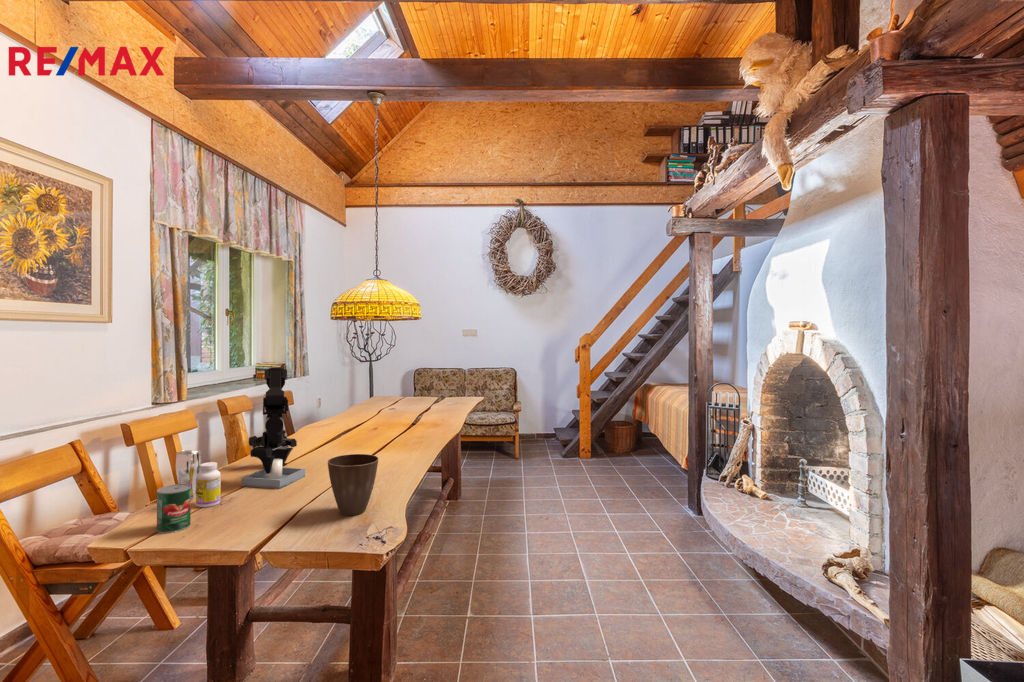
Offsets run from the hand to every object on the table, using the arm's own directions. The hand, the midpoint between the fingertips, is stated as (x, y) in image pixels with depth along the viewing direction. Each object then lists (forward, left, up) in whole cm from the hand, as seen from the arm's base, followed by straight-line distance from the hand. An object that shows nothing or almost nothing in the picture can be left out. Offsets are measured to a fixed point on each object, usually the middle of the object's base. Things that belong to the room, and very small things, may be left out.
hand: (274, 470), depth 181 cm
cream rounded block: (0, 0, -3) cm, 3 cm away
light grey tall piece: (+22, -15, -4) cm, 27 cm away
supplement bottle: (+26, -4, -4) cm, 27 cm away
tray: (0, 0, -4) cm, 4 cm away
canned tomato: (+44, +1, -4) cm, 44 cm away
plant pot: (+22, +43, -4) cm, 48 cm away
